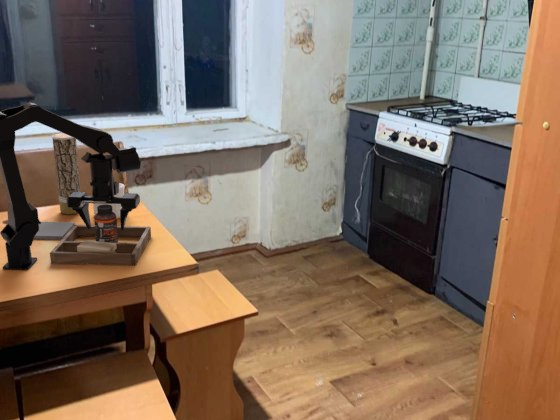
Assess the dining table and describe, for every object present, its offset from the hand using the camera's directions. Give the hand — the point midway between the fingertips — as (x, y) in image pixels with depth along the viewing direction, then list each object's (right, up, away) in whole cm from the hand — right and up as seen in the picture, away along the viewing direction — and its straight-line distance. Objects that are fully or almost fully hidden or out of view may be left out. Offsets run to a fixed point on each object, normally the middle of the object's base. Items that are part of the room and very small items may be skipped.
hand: (106, 229), depth 166 cm
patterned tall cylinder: (-19, +5, +25) cm, 32 cm away
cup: (-6, +4, +24) cm, 25 cm away
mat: (-19, -1, +9) cm, 21 cm away
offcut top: (0, -5, -8) cm, 10 cm away
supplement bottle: (0, -4, +2) cm, 5 cm away
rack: (0, -5, -2) cm, 6 cm away
